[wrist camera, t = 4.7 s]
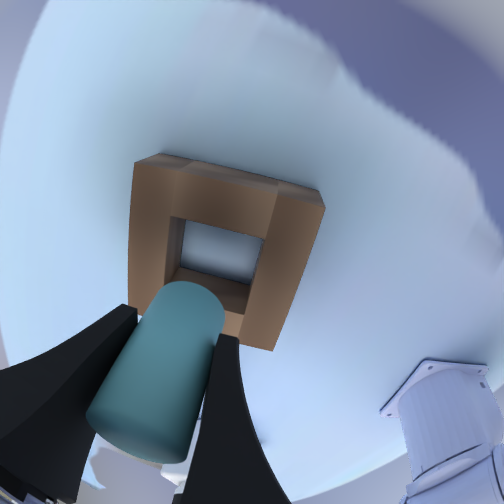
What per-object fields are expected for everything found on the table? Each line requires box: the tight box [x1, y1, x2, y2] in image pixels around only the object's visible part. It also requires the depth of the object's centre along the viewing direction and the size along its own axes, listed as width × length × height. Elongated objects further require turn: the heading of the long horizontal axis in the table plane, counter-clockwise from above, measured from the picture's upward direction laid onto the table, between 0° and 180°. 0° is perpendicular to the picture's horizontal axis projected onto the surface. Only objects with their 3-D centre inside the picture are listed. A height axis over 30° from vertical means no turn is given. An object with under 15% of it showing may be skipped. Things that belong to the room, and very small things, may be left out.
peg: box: [86, 281, 225, 464], centre depth 9 cm, size 3×3×6 cm
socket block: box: [128, 153, 326, 351], centre depth 16 cm, size 9×9×3 cm
